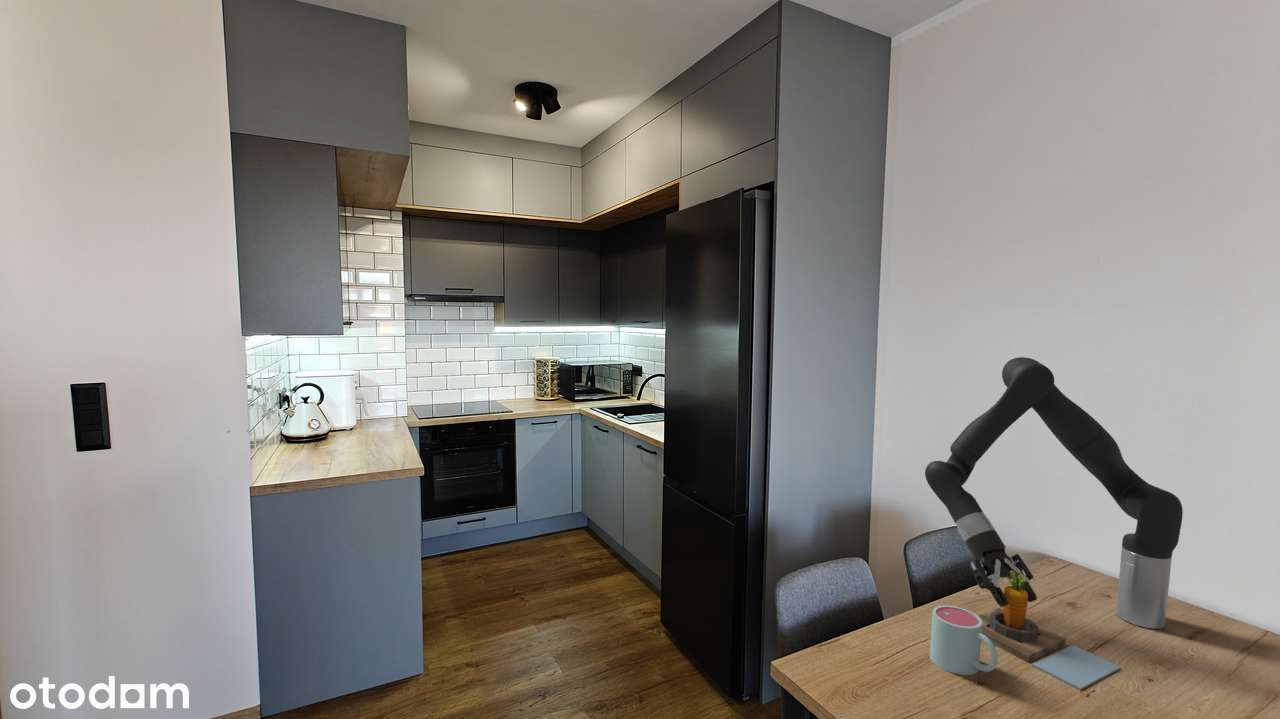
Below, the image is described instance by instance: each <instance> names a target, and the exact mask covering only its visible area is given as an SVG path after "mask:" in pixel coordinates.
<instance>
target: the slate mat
mask: <svg viewBox="0 0 1280 719" xmlns="http://www.w3.org/2000/svg"><path fill="white" fill-rule="evenodd" d="M1031 666H1032V667H1034V668H1036V669H1038V670H1039V671H1042V672H1044V673H1046V674H1047V675H1050V676H1052V677H1054V678H1055V679H1058V680H1059V681H1062V682H1064V683H1065V684H1067V685H1069V686H1071V687H1073V688H1075V689H1076V690H1079V691H1082V690H1084V689H1085V688H1087V687H1089V686H1091V685H1093V684H1095V683H1096V682H1098V681H1100V680H1102V679H1105V678H1106V677H1108V676H1110V675H1112V674H1113V673H1115V672H1117V671H1119V670H1121V666H1119V665H1117V664H1115V663H1112V662H1110V661H1108V660H1106V659H1104V658H1101V657H1100V656H1097V655H1095V654H1093V653H1091V652H1089V651H1087V650H1084V649H1083V648H1080V647H1078V646H1075V645H1073V644H1071V645H1069V646H1067V647H1065V648H1062V649H1061V650H1059V651H1057V652H1054V653H1052V654H1051V655H1048V656H1045V657H1044V658H1041V659H1039V660H1038V661H1035V662H1032V663H1031Z"/></svg>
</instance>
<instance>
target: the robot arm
mask: <svg viewBox="0 0 1280 719" xmlns="http://www.w3.org/2000/svg"><path fill="white" fill-rule="evenodd" d="M1001 378H1002V381H1003V383H1004V385H1005V387H1006V389H1005V391H1004V392H1003V394H1002V395H1001V396H1000V398H999V399H998V400H997V401H996V403H995V404H994V405H992V406H991V407H990V408H989V409H988V410H986V411H985V412H984V413H983V414H981V415H979V416H978V417H976V418H975V419H973V421H971V422H970V423H969V424H968V425H967V426H966V427H965V428H964V429H963V430H962V432H960V433H959V435H958V436H957V437H956V439H955V440H954V441H953V442H952V444H951V445H950V447H949V448H950V453H951V454H950V456H949V457H948V459H947V461H944V460H943V461H942V460H934V461H931V462H929V463H928V464H927V465H926V467H925V469H924V475H925V480H926V482H927V484H928V485H929V488H931V490H932V491H933V493H934V494H935V495H936V497H937V498H938V499H939V500H940V501H941V503H942V504H943V505H944V506H945V508H946V509H947V511H948V513H949V515H950V516H951V519H952V520H953V521H954V523H955V525H956V527H957V531H958V533H959V534H960V537H961V538H962V541H963V542H964V544H965V545H966V547H967V549H968V550H969V552H970V554H971V556H972V558H973V559H974V560H973V561H971V562H969V563H968V567H969V569H970V572H971V573H972V575H973V577H974V580H975V581H976V583H977V585H978V587H979V589H982V590H983V589H986V590H988V591H990V593H991V595H992V597H993V598H994V601H995V602H996V604H998V606H999V607H1001V608H1003V607H1004V606H1006V605H1008V604H1009V602H1008V600H1007V598H1006V597H1005V595H1004V591H1003V590H1002V588H1001V587H1000V586H999V580H1000V578H1003V579H1005V578H1006V579H1007V580H1008V579H1011V580H1012V577H1011V574H1010V571H1014V573H1015V576H1016V578H1017V582H1018V575H1021V576H1022V580H1023V579H1026V580H1027V581H1026V582H1025V583H1024V584H1023V586H1022V587H1021V589H1023V590H1025V591H1026V592H1027V593H1028V601H1027V603H1033V602H1035V601H1037V600H1038V598H1037V593H1036V592H1035V591H1034V589H1033V587H1032V586H1031V584H1030V581H1031V580H1032V579H1034V575H1033V574H1032V572H1031V570H1029V568H1028V566H1027V565H1026V563H1025V562H1024V560H1023V559H1022V557H1021V556H1020V555H1019V554H1018V553H1015V554H1013V555H1012V556H1009V555H1008V554H1007V553H1006V547H1007V546H1006V545H1005V544H1004V542H1003V540H1002V538H1001V537H1000V535H999V533H998V531H997V529H995V527H994V525H993V524H992V522H991V521H990V519H989V518H988V517H987V515H986V514H985V513H984V511H983V510H982V507H980V505H979V503H978V501H977V499H976V498H975V497H974V495H972V494H971V493H970V492H968V491H967V490H966V489H964V488H963V486H964V484H966V483H967V481H968V479H970V478H969V477H970V476H971V474H972V472H973V470H974V468H975V466H976V464H977V462H978V461H979V460H980V459H981V458H982V457H983V455H985V453H986V452H987V451H988V450H990V448H991V447H992V445H993V444H994V443H995V442H996V441H997V440H998V438H1000V437H1001V436H1002V435H1003V433H1004V432H1005V431H1007V429H1008V428H1010V427H1011V426H1012V425H1013V424H1014V423H1015V422H1016V421H1018V420H1019V419H1020V418H1021V417H1022V416H1023V415H1024V414H1025V413H1027V412H1028V410H1031V409H1032V410H1033V411H1034V412H1035V413H1036V414H1037V416H1039V417H1040V419H1041V420H1042V421H1043V423H1044V424H1045V426H1046V427H1047V428H1048V430H1050V432H1051V433H1052V434H1053V435H1054V437H1055V438H1056V439H1057V441H1059V442H1060V444H1061V445H1062V446H1063V447H1064V448H1065V449H1066V450H1067V451H1068V452H1069V454H1071V455H1072V456H1073V458H1075V460H1077V461H1078V463H1080V464H1081V465H1082V466H1083V468H1085V469H1086V470H1087V471H1088V472H1089V474H1091V475H1093V477H1095V478H1096V479H1097V480H1098V481H1099V482H1100V483H1101V484H1102V486H1103V487H1104V488H1105V489H1106V491H1107V492H1108V493H1109V494H1110V496H1111V497H1112V498H1113V500H1114V501H1115V503H1116V504H1117V505H1118V506H1119V508H1120V509H1121V510H1122V512H1124V513H1125V514H1126V515H1127V516H1128V517H1131V518H1132V519H1134V520H1136V521H1137V522H1136V529H1135V532H1133V533H1132V532H1131V533H1130V532H1129V533H1127V534H1124V536H1123V538H1122V544H1121V552H1120V563H1119V573H1118V574H1119V575H1118V585H1117V595H1116V605H1115V614H1116V616H1118V617H1119V618H1120V619H1122V620H1123V621H1125V622H1128V623H1130V624H1133V625H1135V626H1138V627H1142V628H1147V629H1154V630H1155V629H1157V630H1160V629H1163V628H1165V626H1166V618H1167V608H1168V598H1169V590H1170V580H1171V579H1170V577H1171V567H1172V558H1173V552H1174V550H1176V547H1177V546H1178V543H1179V540H1180V533H1181V529H1182V523H1183V513H1184V511H1183V505H1182V501H1181V500H1180V498H1178V496H1176V495H1175V494H1174V493H1172V492H1171V491H1170V492H1169V491H1168V490H1165V489H1164V488H1163V489H1162V488H1160V487H1158V486H1155V485H1152V484H1150V483H1148V482H1147V481H1146V480H1144V479H1143V478H1142V477H1141V476H1140V475H1138V473H1136V472H1135V471H1134V470H1133V469H1132V468H1131V467H1130V466H1129V465H1128V464H1127V463H1126V461H1125V460H1124V458H1123V455H1122V452H1121V449H1120V447H1119V445H1118V443H1117V442H1116V440H1115V439H1114V438H1113V436H1112V435H1111V434H1110V433H1109V432H1108V431H1107V430H1106V429H1105V427H1104V426H1102V425H1101V424H1100V423H1099V422H1098V421H1097V420H1096V419H1095V418H1094V417H1093V416H1091V415H1090V414H1089V413H1088V412H1087V411H1085V409H1083V408H1082V407H1080V406H1079V405H1078V404H1077V403H1075V402H1073V401H1072V399H1070V398H1068V397H1067V396H1066V395H1065V394H1064V393H1063V392H1062V391H1061V390H1060V389H1059V388H1058V387H1057V385H1056V384H1055V376H1054V374H1053V371H1052V370H1051V369H1050V368H1049V367H1047V366H1046V365H1044V364H1043V363H1041V362H1039V361H1038V360H1036V359H1033V358H1030V357H1026V356H1025V357H1024V356H1023V357H1022V356H1021V357H1019V356H1018V357H1014V358H1012V359H1010V360H1008V361H1007V362H1006V363H1005V364H1004V366H1003V368H1002V371H1001Z"/></svg>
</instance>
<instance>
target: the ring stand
mask: <svg viewBox="0 0 1280 719" xmlns="http://www.w3.org/2000/svg"><path fill="white" fill-rule="evenodd" d="M978 616H979V617H980V618H981V620H982V634H984V635H985V636H986V637H988V638H989V639H990V641H991V642H992V643H993V645H994V647H997V648H999V649H1001V650H1003V651H1005V652H1007V653H1009V654H1011V655H1013V656H1015V657H1017V658H1019V659H1021V660H1023V661H1025V662H1027V663H1030V662H1033V661H1035V660H1036V659H1039V658H1041V657H1043V656H1046V655H1048V654H1049V653H1051V652H1053V651H1056V650H1058V649H1061V648H1062V647H1065V646H1067V637H1064V636H1062V635H1059V634H1057V633H1055V632H1052V631H1051V630H1048V629H1046V628H1045V627H1042V626H1040V625H1038V624H1037V623H1035V621H1033V620H1032V619H1030V618H1028V617H1026V616H1025V619H1024V622H1023V625H1022V627H1021V629H1020V630H1017V629H1013V628H1009V627H1007V626H1006V624H1005V619H1004V612H1003V608H996V609H993V610H990V611H987V612H984V613H983V614H979V615H978Z"/></svg>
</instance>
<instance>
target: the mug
mask: <svg viewBox="0 0 1280 719" xmlns="http://www.w3.org/2000/svg"><path fill="white" fill-rule="evenodd" d="M931 617H932V618H931V629H930V632H931V633H930V644H929V645H930V647H929V658H930V661H931V662H932V663H933V664H934V665H935V666H936V667H938V668H940V669H941V670H944V671H946V672H949V673H952V674H956V675H960V676H961V675H962V676H971V675H974V674H977V673H978V672H979V671H981V672H985V673H987V672H992V671H993V670H995V668H996V667H997V665H998V660H999V657H998V656H999V655H998V652H997V649H996V646H995V645H993V643H992V642H991V641H990V639H989V638H988V637H986V636H985V635H984V634H982V620H981V618H980V617H979V615H977V614H976V613H974V612H973V611H971V610H968V609H966V608H962V607H959V606H954V605H938V606H935V607H934V608H933V609H932V616H931ZM981 642H983V643H984V644H985V645H986V646H987V648H988V650H989V652H990V662H989V663H988V664H982V663H980V658H981V644H982V643H981Z"/></svg>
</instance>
